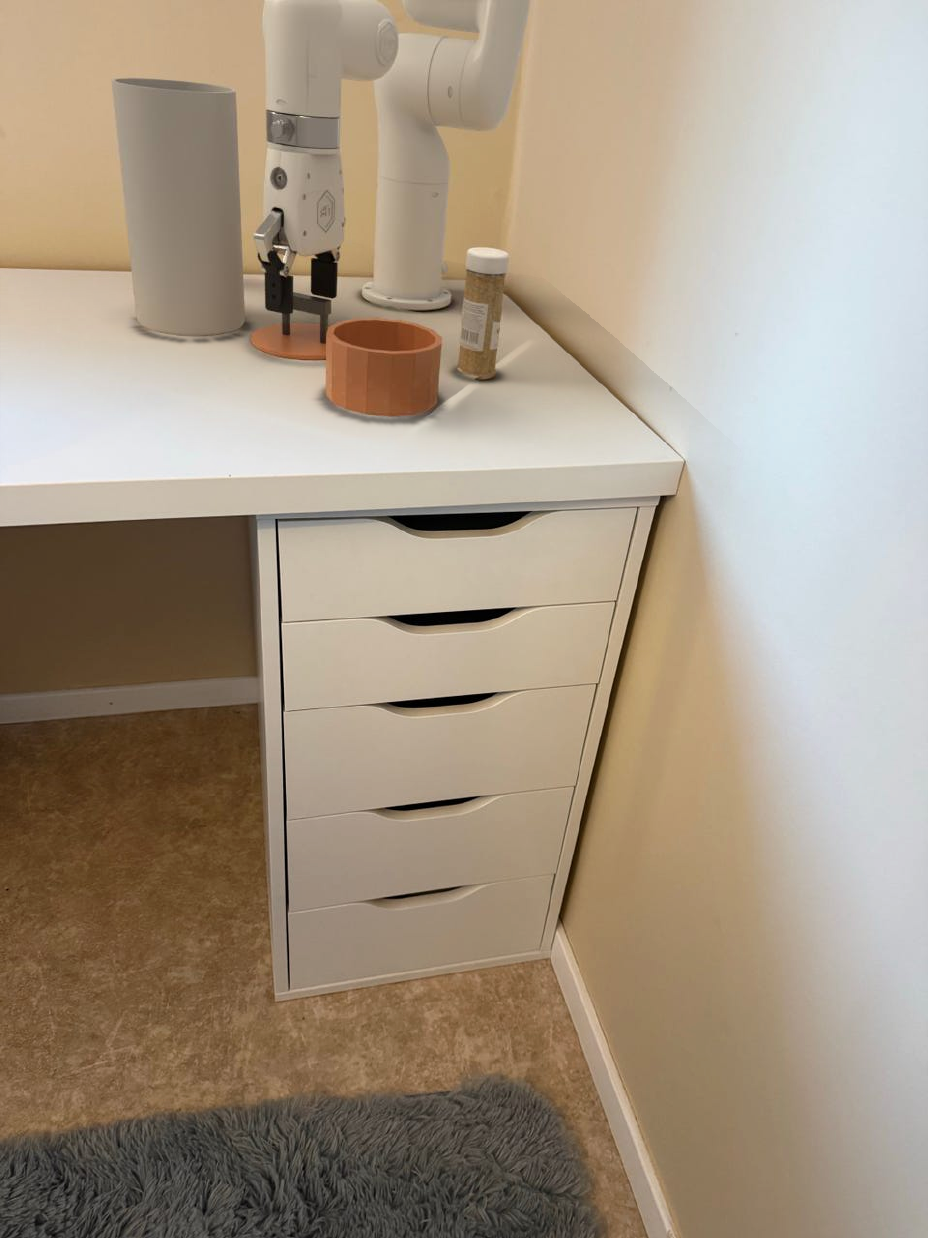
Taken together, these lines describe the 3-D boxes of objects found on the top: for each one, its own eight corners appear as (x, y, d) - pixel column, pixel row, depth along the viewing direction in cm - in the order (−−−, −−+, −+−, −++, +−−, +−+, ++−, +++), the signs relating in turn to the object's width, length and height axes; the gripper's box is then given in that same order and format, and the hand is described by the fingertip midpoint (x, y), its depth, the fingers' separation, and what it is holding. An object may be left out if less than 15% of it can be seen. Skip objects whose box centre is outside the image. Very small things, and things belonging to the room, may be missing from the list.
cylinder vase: (114, 327, 105) (85, 78, 91) (176, 304, 115) (158, 76, 101) (209, 347, 102) (193, 94, 88) (264, 321, 112) (257, 90, 98)
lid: (287, 325, 112) (286, 276, 109) (375, 345, 109) (377, 295, 105) (230, 350, 102) (227, 297, 99) (325, 372, 99) (325, 318, 96)
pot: (358, 374, 100) (360, 311, 96) (453, 396, 96) (459, 332, 93) (305, 404, 90) (305, 336, 87) (408, 430, 87) (412, 361, 84)
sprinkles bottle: (503, 378, 103) (518, 254, 95) (470, 382, 101) (483, 256, 93) (480, 365, 106) (493, 244, 98) (448, 369, 104) (458, 246, 96)
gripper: (290, 142, 85) (290, 325, 94) (373, 135, 99) (366, 296, 108) (223, 131, 87) (229, 312, 96) (313, 126, 101) (311, 285, 110)
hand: (302, 303), depth 102 cm, fingers open, 9 cm apart
